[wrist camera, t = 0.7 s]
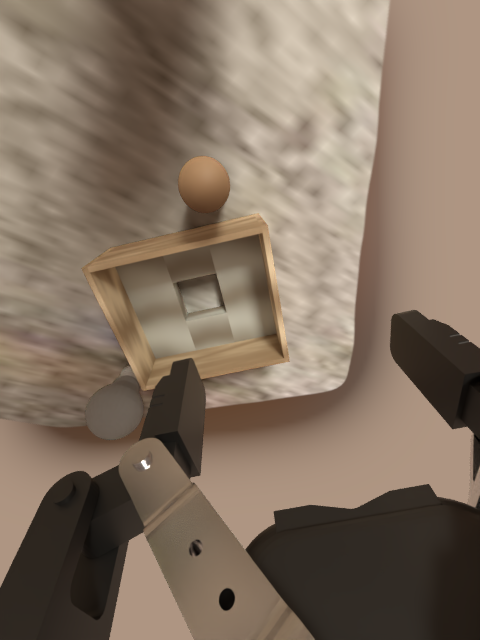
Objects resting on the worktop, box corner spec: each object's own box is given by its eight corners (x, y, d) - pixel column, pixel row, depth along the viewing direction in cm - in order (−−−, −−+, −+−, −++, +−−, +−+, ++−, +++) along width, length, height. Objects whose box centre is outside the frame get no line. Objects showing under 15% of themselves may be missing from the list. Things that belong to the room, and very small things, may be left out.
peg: (188, 164, 27) (171, 163, 18) (223, 156, 27) (223, 150, 18) (198, 202, 28) (187, 218, 20) (231, 194, 28) (235, 206, 19)
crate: (110, 247, 30) (81, 268, 24) (258, 213, 29) (267, 225, 23) (156, 353, 37) (143, 390, 31) (278, 328, 36) (289, 361, 30)
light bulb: (164, 368, 38) (146, 428, 29) (141, 395, 40) (118, 459, 31) (124, 345, 36) (91, 402, 27) (101, 374, 38) (64, 437, 29)
